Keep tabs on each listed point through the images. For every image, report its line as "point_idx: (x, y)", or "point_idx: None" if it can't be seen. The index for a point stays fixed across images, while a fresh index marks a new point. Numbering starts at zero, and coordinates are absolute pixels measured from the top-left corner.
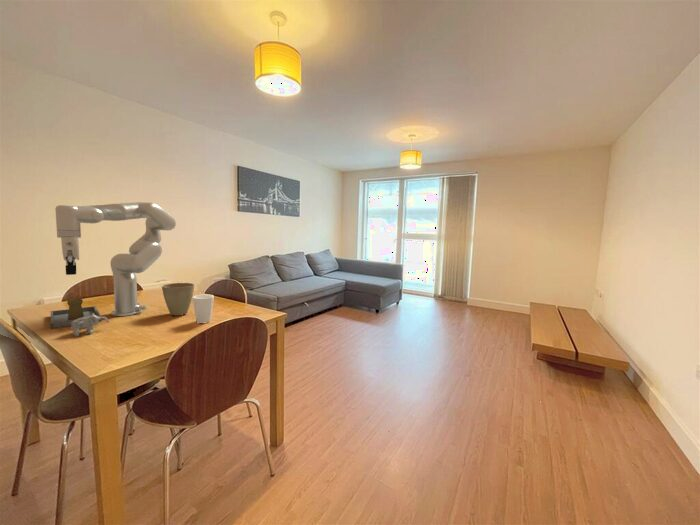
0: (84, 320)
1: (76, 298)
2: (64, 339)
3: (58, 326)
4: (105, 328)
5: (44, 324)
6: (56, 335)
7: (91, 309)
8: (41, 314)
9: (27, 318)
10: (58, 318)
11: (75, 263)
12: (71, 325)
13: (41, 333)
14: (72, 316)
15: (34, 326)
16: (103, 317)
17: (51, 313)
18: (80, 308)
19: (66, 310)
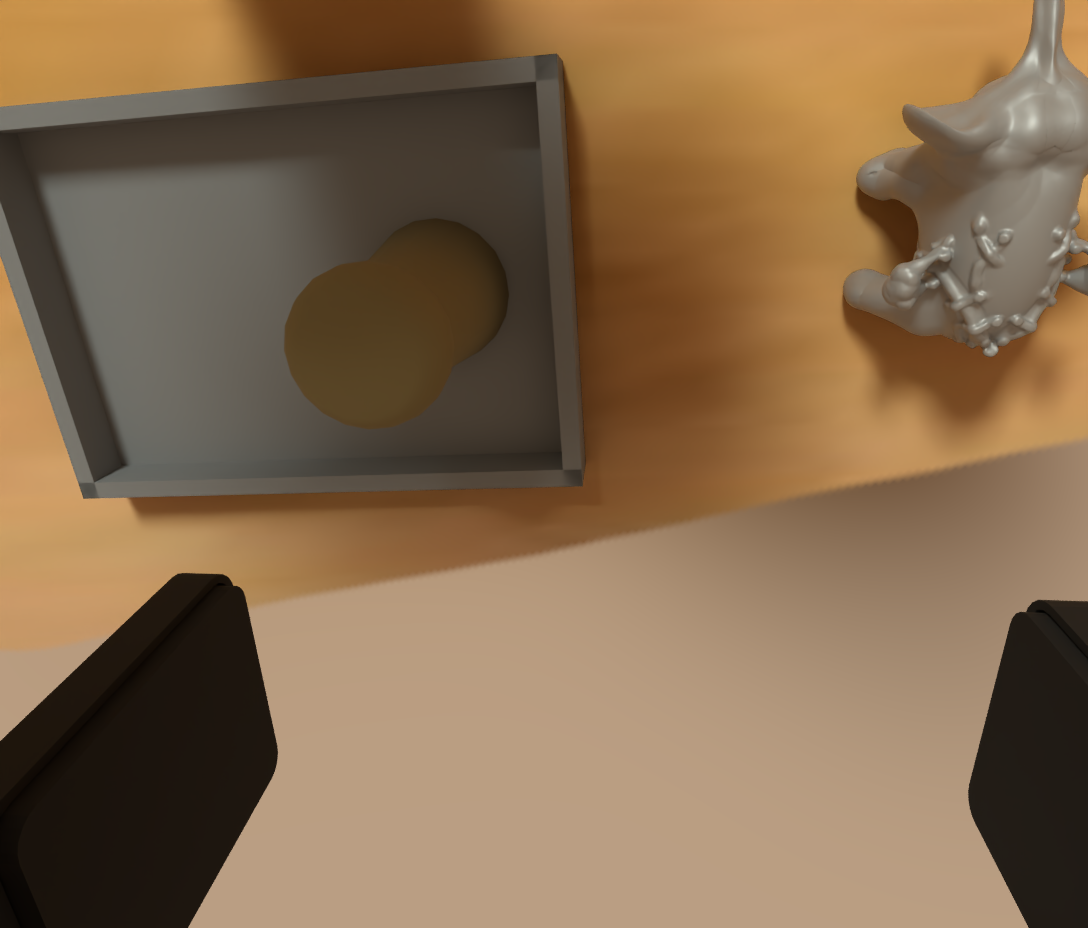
0: (1073, 227)
1: (372, 342)
2: (1031, 366)
3: (582, 420)
4: (910, 14)
5: (398, 507)
6: (840, 422)
7: (11, 156)
8: (28, 536)
9: (137, 607)
10: (257, 427)
11: (31, 820)
12: (956, 339)
13: (691, 514)
14: (482, 334)
15: (428, 560)
16: (1063, 2)
17: (184, 490)
18: (433, 274)
19: (68, 383)
